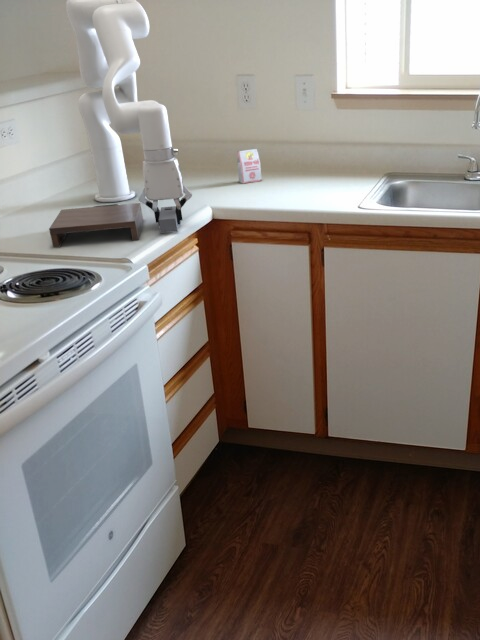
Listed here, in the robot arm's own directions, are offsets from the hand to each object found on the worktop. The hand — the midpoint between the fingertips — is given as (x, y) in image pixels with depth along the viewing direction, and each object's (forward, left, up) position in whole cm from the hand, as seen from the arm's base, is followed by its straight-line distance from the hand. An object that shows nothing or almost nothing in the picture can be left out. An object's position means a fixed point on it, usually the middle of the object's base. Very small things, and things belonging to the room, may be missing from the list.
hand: (169, 223), depth 209 cm
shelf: (0, -19, -1) cm, 19 cm away
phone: (-20, -20, -1) cm, 28 cm away
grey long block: (0, 0, -1) cm, 1 cm away
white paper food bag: (-50, +25, -1) cm, 56 cm away
